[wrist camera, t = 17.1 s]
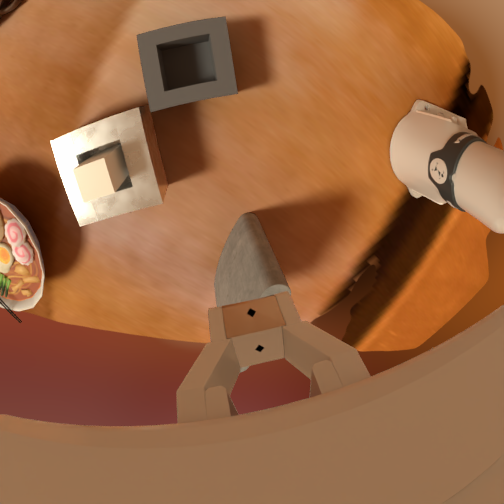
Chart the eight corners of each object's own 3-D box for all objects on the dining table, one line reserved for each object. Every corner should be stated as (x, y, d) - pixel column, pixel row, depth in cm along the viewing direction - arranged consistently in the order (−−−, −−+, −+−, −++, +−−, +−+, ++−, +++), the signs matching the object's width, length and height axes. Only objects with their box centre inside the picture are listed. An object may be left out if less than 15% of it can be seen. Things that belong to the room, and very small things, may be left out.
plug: (126, 140, 32) (104, 157, 24) (133, 168, 34) (114, 192, 26) (100, 149, 32) (72, 169, 24) (108, 175, 34) (83, 202, 26)
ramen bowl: (87, 262, 42) (73, 293, 35) (23, 304, 43) (9, 331, 36) (11, 144, 28) (-19, 158, 21) (-42, 214, 29) (-65, 234, 22)
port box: (149, 104, 31) (138, 107, 25) (168, 184, 38) (162, 203, 32) (72, 132, 30) (50, 141, 24) (95, 205, 37) (79, 226, 31)
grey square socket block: (221, 27, 27) (225, 16, 22) (231, 94, 32) (237, 93, 28) (145, 43, 26) (136, 35, 21) (157, 109, 32) (150, 112, 27)
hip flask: (228, 293, 50) (247, 388, 34) (207, 289, 49) (218, 386, 32) (261, 215, 43) (303, 303, 27) (236, 208, 42) (266, 297, 25)
